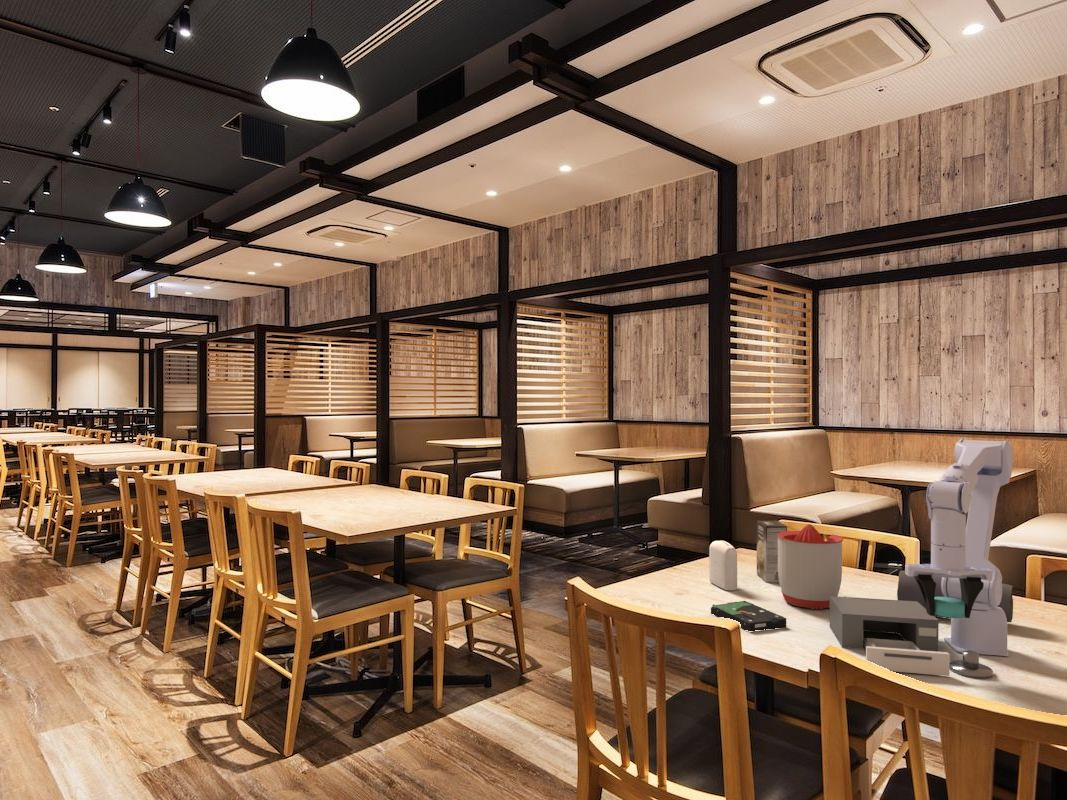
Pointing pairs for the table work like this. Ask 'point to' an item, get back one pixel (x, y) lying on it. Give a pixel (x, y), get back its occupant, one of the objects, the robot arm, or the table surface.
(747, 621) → the disk drive
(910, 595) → the bluetooth speaker
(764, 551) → the coffee box
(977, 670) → the spindle stand
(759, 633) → the table surface
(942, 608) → the teal rounded disc
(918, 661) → the drawer
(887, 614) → the player cabinet
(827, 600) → the citrus juicer
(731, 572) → the photo printer
